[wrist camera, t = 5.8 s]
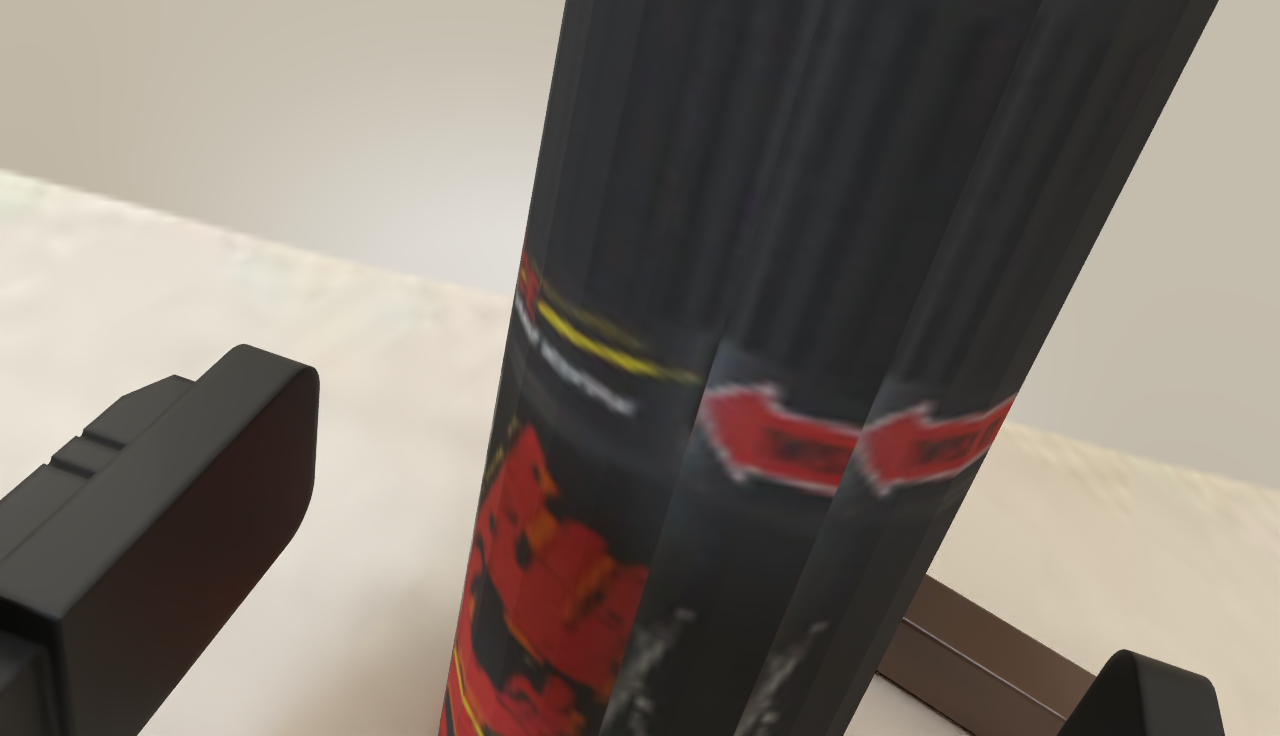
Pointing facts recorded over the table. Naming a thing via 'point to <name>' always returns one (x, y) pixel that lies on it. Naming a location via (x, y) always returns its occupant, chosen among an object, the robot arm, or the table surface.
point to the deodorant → (776, 339)
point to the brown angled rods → (981, 667)
